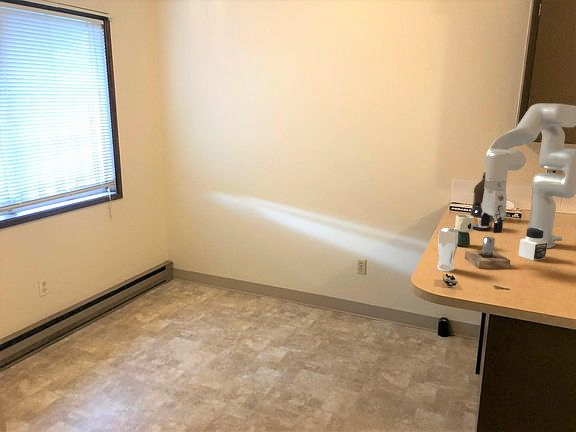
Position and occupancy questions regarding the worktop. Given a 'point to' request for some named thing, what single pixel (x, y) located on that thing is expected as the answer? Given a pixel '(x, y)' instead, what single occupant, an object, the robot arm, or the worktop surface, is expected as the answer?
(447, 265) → the beer glass
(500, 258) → the square ring frame
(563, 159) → the robot arm
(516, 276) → the worktop surface
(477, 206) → the supplement container
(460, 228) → the character mug
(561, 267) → the worktop surface
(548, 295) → the worktop surface
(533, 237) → the medicine bottle
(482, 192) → the olive oil
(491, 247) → the metal peg
